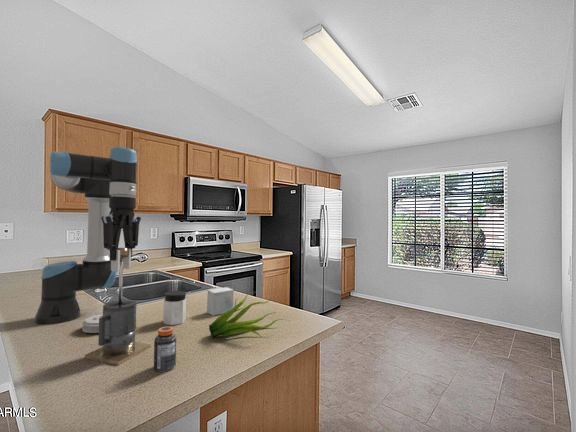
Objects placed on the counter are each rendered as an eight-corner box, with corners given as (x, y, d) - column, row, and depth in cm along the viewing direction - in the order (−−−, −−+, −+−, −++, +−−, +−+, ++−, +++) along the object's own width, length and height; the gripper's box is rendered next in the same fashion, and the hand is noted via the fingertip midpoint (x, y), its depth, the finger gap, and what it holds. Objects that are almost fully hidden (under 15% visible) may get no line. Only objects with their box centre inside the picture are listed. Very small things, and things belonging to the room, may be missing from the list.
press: (83, 359, 92) (84, 307, 92) (119, 341, 105) (120, 296, 105) (116, 366, 88) (118, 312, 88) (150, 347, 101) (151, 300, 101)
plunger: (110, 305, 96) (112, 248, 96) (120, 302, 99) (121, 247, 99) (119, 306, 95) (121, 249, 95) (129, 303, 98) (130, 248, 98)
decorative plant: (289, 343, 107) (290, 301, 107) (205, 340, 108) (206, 299, 108) (289, 325, 125) (290, 289, 125) (217, 323, 126) (218, 287, 126)
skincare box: (213, 316, 134) (213, 292, 134) (206, 312, 139) (206, 289, 139) (233, 311, 141) (234, 289, 141) (226, 308, 146) (227, 286, 146)
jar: (165, 326, 120) (166, 296, 120) (161, 320, 127) (161, 292, 127) (188, 322, 125) (189, 293, 125) (183, 317, 132) (183, 289, 132)
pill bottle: (157, 362, 91) (158, 324, 91) (178, 362, 91) (179, 324, 91) (150, 372, 85) (151, 332, 85) (172, 372, 85) (173, 332, 85)
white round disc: (115, 321, 126) (115, 309, 126) (124, 329, 117) (125, 316, 117) (78, 328, 117) (79, 315, 117) (86, 338, 108) (86, 324, 108)
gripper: (109, 194, 88) (107, 275, 88) (151, 198, 104) (149, 266, 104) (89, 194, 90) (87, 273, 90) (133, 198, 106) (132, 265, 106)
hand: (121, 269), depth 97 cm, fingers open, 4 cm apart
